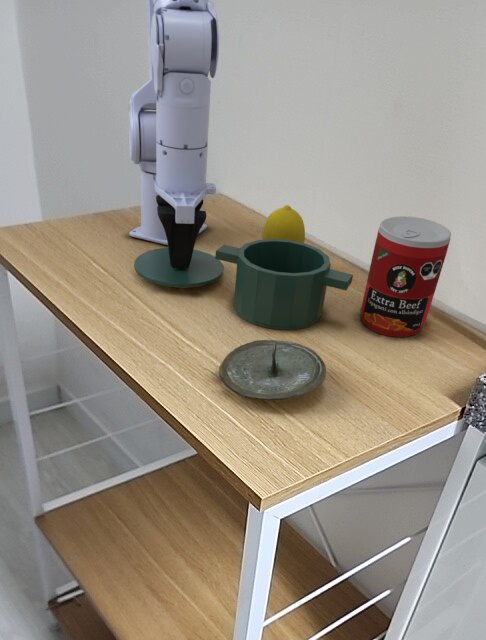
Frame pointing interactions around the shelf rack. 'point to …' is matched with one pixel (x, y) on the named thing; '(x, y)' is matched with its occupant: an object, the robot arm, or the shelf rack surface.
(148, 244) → the shelf rack surface
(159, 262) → the pot lid
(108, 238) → the shelf rack surface
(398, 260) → the canned food
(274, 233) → the lemon
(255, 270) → the pot
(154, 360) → the shelf rack surface
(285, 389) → the metal candle holder
